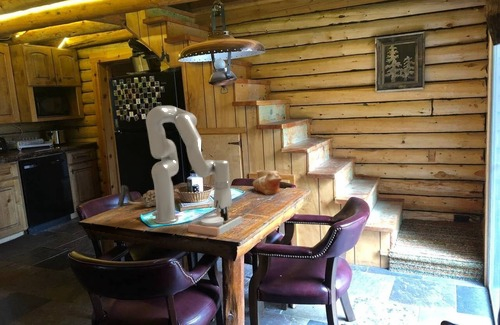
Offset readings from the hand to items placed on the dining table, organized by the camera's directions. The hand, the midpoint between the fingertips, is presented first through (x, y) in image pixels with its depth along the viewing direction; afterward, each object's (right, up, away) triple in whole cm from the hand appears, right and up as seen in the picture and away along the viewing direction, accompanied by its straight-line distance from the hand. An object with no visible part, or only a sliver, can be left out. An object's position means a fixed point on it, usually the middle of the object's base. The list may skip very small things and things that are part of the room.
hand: (224, 220), depth 203 cm
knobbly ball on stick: (-49, +2, +37) cm, 62 cm away
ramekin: (-5, -3, -10) cm, 12 cm away
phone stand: (-64, +3, +46) cm, 79 cm away
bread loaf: (+25, +10, +65) cm, 71 cm away
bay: (-4, -2, -6) cm, 8 cm away
